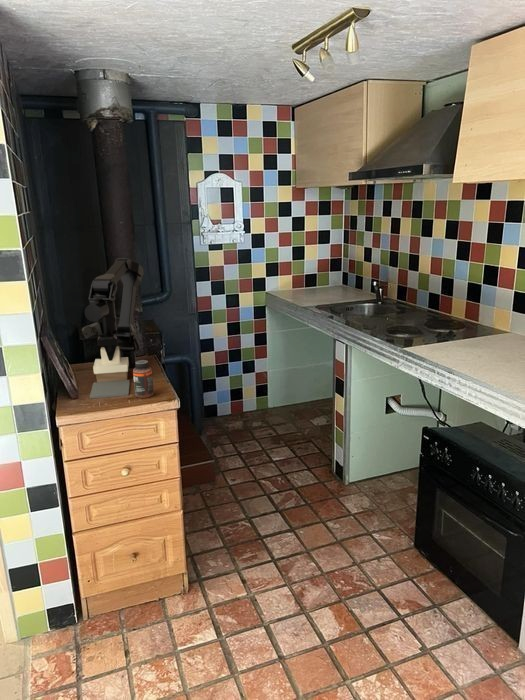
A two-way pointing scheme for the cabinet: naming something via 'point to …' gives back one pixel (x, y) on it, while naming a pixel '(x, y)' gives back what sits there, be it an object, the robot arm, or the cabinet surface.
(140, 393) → the supplement bottle
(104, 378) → the storage box
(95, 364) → the lid
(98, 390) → the mat
